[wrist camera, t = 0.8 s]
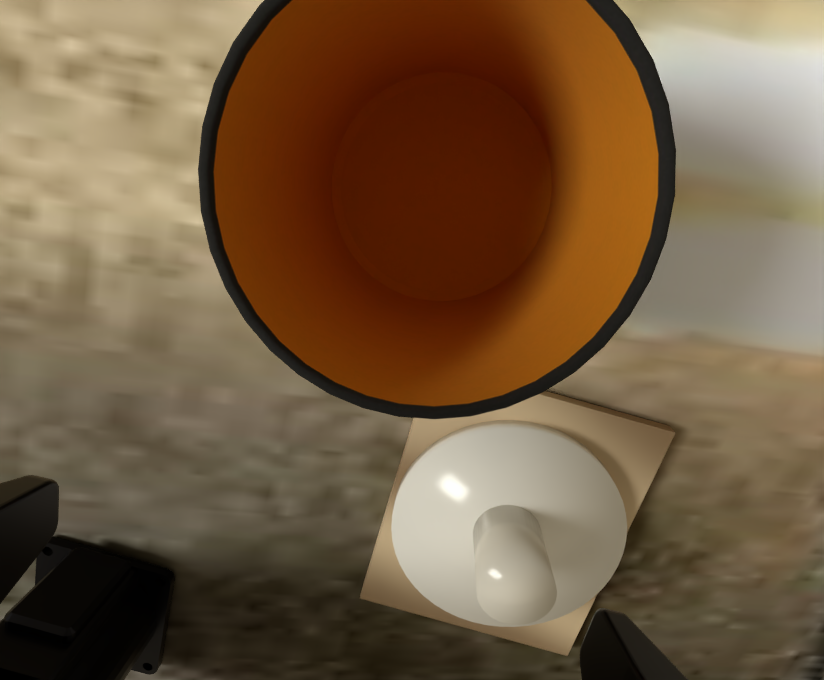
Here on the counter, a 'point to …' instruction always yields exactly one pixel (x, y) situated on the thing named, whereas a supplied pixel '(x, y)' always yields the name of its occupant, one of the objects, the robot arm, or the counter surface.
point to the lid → (508, 523)
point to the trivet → (587, 423)
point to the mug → (436, 192)
